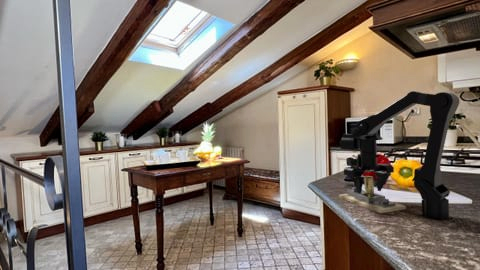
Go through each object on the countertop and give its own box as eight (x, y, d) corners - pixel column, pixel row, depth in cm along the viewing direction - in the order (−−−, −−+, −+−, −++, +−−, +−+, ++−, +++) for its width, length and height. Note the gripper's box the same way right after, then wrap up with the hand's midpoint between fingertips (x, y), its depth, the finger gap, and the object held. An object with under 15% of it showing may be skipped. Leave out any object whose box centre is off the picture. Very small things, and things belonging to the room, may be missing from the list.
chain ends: (398, 205, 95) (398, 196, 95) (381, 208, 93) (380, 199, 93) (359, 193, 113) (359, 185, 113) (344, 195, 111) (344, 187, 111)
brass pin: (369, 198, 105) (369, 175, 105) (376, 200, 102) (375, 177, 102) (363, 199, 104) (362, 176, 104) (369, 201, 101) (368, 177, 101)
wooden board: (405, 209, 94) (405, 206, 94) (380, 213, 91) (380, 210, 91) (360, 194, 115) (360, 191, 115) (338, 197, 112) (338, 194, 112)
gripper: (372, 148, 113) (373, 185, 113) (334, 151, 107) (335, 190, 108) (394, 150, 102) (395, 191, 103) (353, 154, 97) (354, 197, 97)
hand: (369, 192), depth 103 cm, fingers open, 9 cm apart
